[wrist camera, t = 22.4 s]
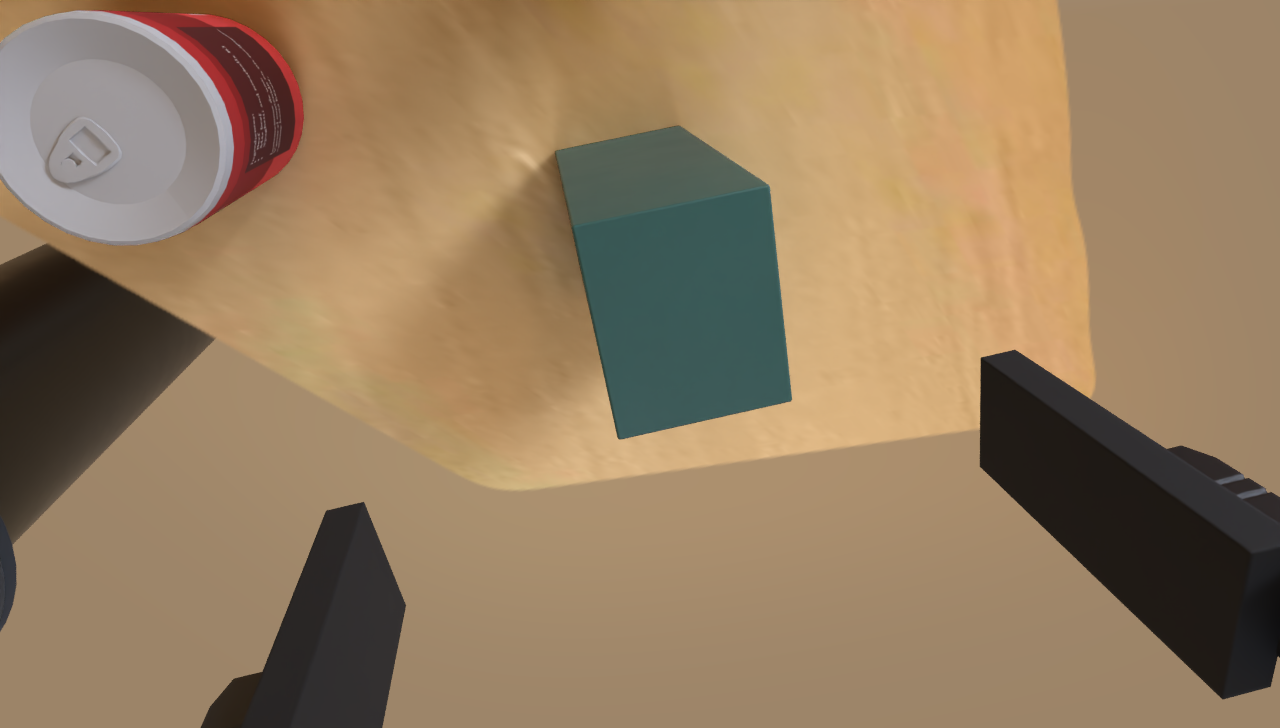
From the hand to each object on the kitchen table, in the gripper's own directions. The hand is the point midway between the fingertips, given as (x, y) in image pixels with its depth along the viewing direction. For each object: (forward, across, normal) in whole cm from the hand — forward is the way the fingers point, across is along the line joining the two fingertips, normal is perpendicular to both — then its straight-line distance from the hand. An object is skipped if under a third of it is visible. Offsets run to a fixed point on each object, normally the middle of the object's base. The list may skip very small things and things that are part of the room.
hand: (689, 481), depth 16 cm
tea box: (+18, +2, -1) cm, 19 cm away
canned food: (+27, -16, +8) cm, 32 cm away
